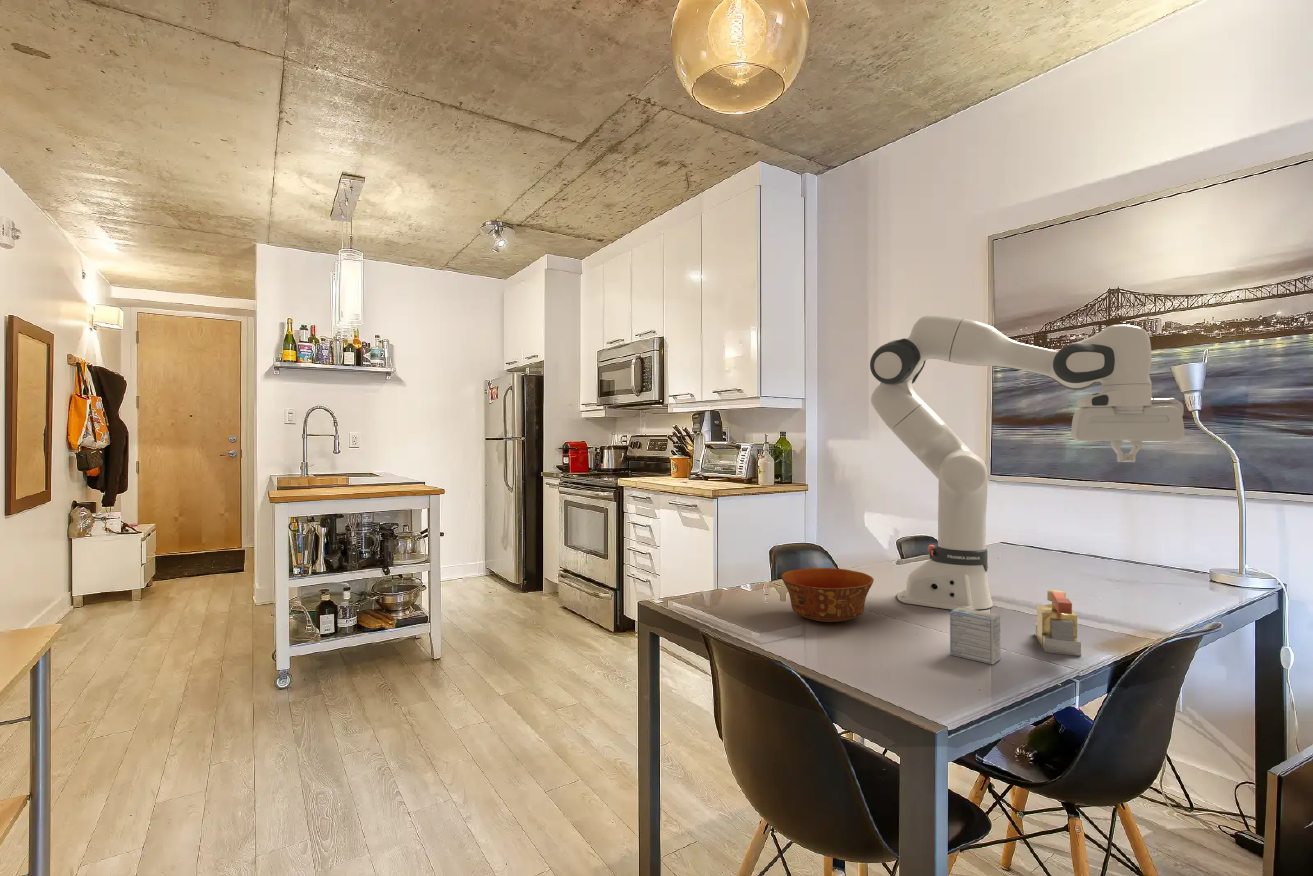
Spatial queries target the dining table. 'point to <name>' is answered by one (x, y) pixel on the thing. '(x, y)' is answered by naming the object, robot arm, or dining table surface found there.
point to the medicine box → (975, 635)
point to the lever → (1060, 601)
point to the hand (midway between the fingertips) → (1126, 462)
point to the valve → (1057, 631)
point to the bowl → (827, 593)
